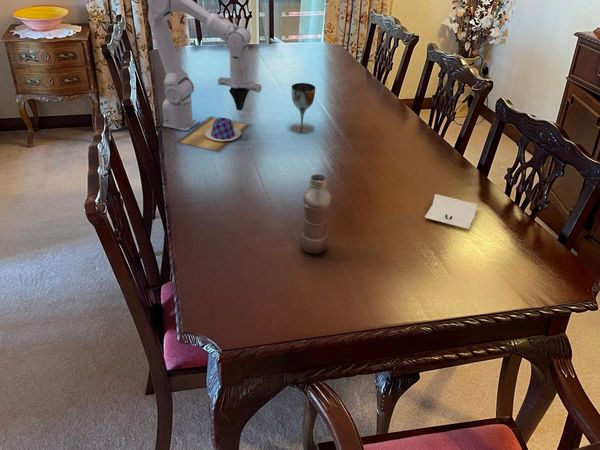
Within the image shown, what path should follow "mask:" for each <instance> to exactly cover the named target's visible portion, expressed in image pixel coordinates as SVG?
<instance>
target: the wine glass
mask: <svg viewBox="0 0 600 450" xmlns="http://www.w3.org/2000/svg"><path fill="white" fill-rule="evenodd" d="M315 96H316V86H315V85H314V84H312V83H307V82H298V83H294V84H292V85H291V100H292V104H293V105H294V107H296V109H297V110H298V112H299V115H300V123H298V124H293V125H292V126H291V128H290V129H291V131H293V132H295V133H298V134H306V133H310V132H311V131H312V129H313V128H312V127H311V126H310V125H307V124H304V116H305V114H306V111H307V110H308V109H309V108H310V107H312V105H313V103H314V100H315Z"/></svg>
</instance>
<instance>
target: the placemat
mask: <svg viewBox="0 0 600 450" xmlns="http://www.w3.org/2000/svg"><path fill="white" fill-rule="evenodd" d="M215 119H217V117H209V118H208V119H206V120H205V121H204V122H201V124H199V125H198V126H197V127H195V128H194V129H193V130H191V131H190V132H189V133H187V134H186V135H185V136H183V137H182V138H180V139H179V140H178V141H177V143H180V144H185V145H189V146H193V147H197V148H202V149H207V150H211V151H215V152H220V151H221V150H222V149H223V148H225V146H227V145H228V144H229V143H230V142H232V140H229V141H216V140H212V139H210V138H208V137H207V136H206V135H205V132H206V130H208V129H209V128H212V127H213V123H214V121H215ZM231 122H232V125H233V127H235V128H237V129H239V130H240V131H241V133H242V132H243V131H244V130H245V129H246V128H248V127H249V124H244V123H240V122H235V121H231Z"/></svg>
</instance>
